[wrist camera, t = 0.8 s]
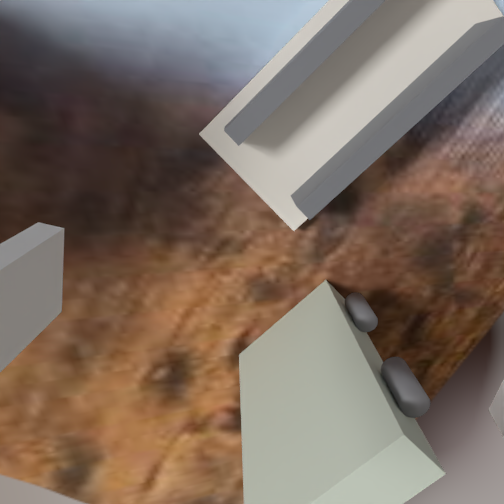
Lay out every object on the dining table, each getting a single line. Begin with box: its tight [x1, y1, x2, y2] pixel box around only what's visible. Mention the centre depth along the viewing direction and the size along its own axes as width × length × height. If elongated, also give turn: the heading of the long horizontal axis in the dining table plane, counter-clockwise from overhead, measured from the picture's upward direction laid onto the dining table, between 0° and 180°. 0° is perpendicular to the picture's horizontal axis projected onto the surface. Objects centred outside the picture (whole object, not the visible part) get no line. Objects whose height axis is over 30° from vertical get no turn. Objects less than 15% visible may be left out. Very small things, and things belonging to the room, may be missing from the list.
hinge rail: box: [199, 0, 504, 231], centre depth 27 cm, size 18×9×4 cm, turn 134°
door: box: [239, 280, 446, 504], centre depth 27 cm, size 10×3×16 cm, turn 134°
